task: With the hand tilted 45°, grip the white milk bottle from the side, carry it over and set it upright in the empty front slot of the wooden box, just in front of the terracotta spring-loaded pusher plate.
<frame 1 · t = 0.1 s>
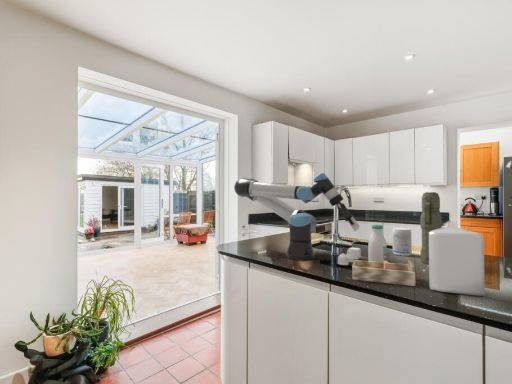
hand: (357, 228, 149), 15 cm above the countertop, tool tilted 35°, fingers open, 13 cm apart
milk bottle: (377, 269, 124), on the countertop
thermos: (431, 263, 134), on the countertop
pusher: (385, 265, 109), point 5 cm above the countertop, slide at 0.0 cm
supplement tub: (402, 254, 154), on the countertop
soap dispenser: (452, 288, 98), on the countertop
wooden box: (381, 277, 110), on the countertop
container set: (349, 261, 139), on the countertop
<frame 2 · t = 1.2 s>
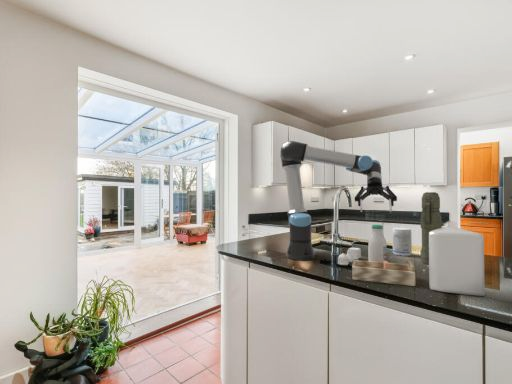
hand: (375, 210, 137), 26 cm above the countertop, tool tilted 45°, fingers open, 13 cm apart
nothing on the countertop moved.
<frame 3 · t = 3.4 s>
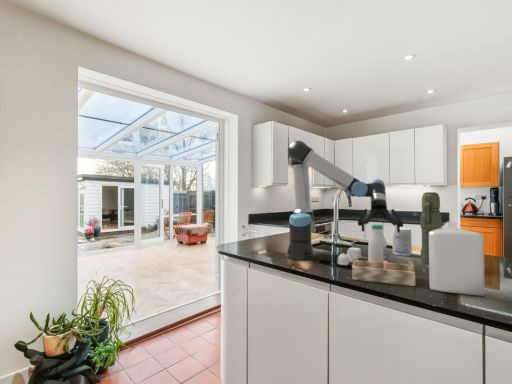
hand: (380, 236, 128), 14 cm above the countertop, tool tilted 45°, fingers open, 13 cm apart
nothing on the countertop moved.
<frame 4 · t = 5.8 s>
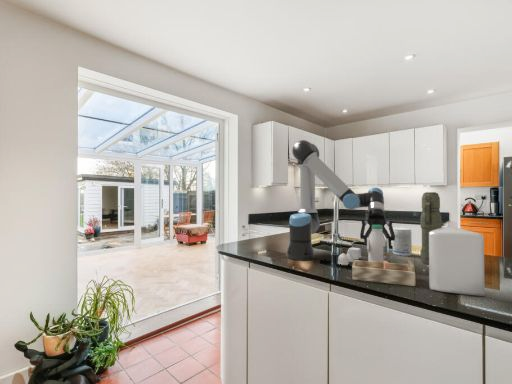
hand: (377, 251, 121), 9 cm above the countertop, tool tilted 45°, fingers closed on milk bottle, 7 cm apart
milk bottle: (377, 269, 124), on the countertop, touching gripper
everything else where it was.
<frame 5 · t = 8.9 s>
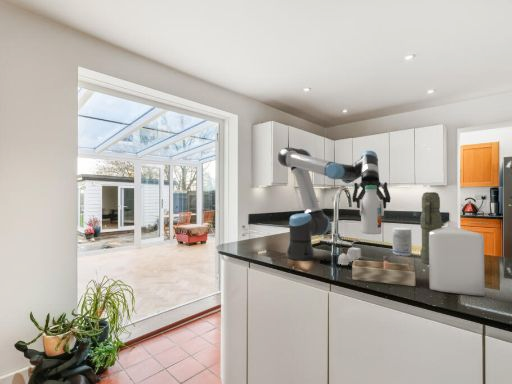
hand: (371, 213, 110), 26 cm above the countertop, tool tilted 45°, fingers closed on milk bottle, 7 cm apart
milk bottle: (371, 233, 113), point 18 cm above the countertop, touching gripper
everything else where it was.
when the fingers open (11 cm above the countertop, at t = 12.4 s): milk bottle drops 1 cm, resting on wooden box.
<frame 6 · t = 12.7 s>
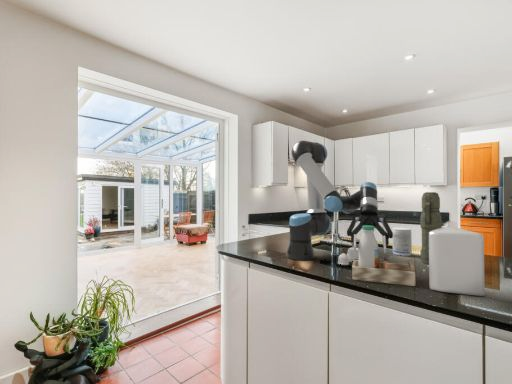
hand: (369, 249, 109), 12 cm above the countertop, tool tilted 45°, fingers open, 10 cm apart
milk bottle: (368, 274, 112), point 1 cm above the countertop, touching wooden box
everything else where it was.
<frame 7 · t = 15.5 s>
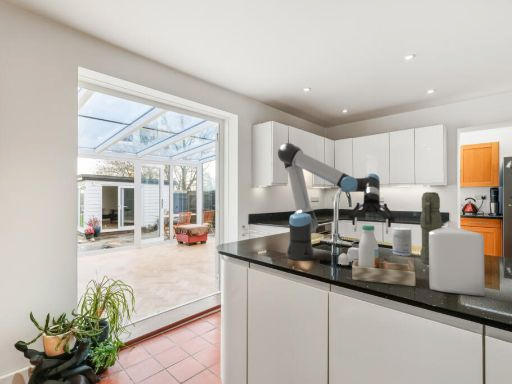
hand: (370, 230, 125), 17 cm above the countertop, tool tilted 45°, fingers open, 13 cm apart
nothing on the countertop moved.
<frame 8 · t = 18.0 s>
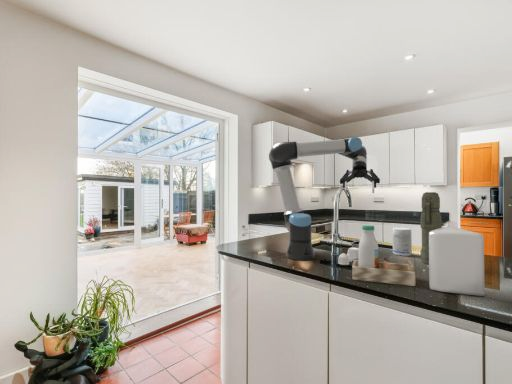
hand: (359, 191, 142), 36 cm above the countertop, tool tilted 45°, fingers open, 13 cm apart
nothing on the countertop moved.
at the end: milk bottle 0.4 cm from the target spot on the wooden box, point 0.8 cm above the wooden box's base; milk bottle tilted 0°; pusher slide at 0.0 cm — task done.
